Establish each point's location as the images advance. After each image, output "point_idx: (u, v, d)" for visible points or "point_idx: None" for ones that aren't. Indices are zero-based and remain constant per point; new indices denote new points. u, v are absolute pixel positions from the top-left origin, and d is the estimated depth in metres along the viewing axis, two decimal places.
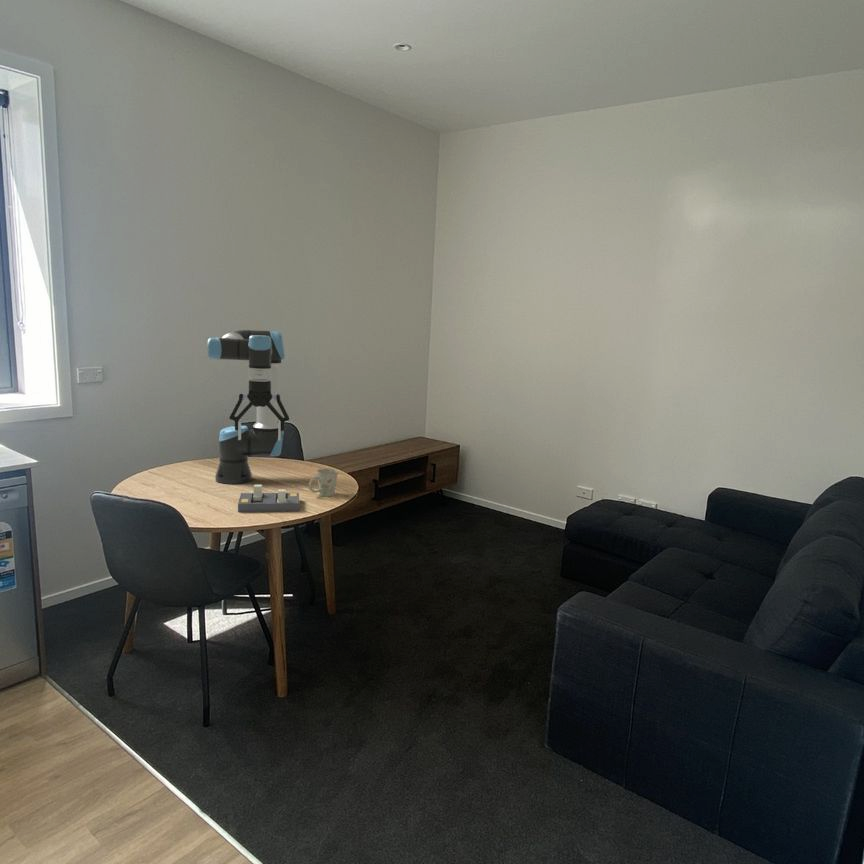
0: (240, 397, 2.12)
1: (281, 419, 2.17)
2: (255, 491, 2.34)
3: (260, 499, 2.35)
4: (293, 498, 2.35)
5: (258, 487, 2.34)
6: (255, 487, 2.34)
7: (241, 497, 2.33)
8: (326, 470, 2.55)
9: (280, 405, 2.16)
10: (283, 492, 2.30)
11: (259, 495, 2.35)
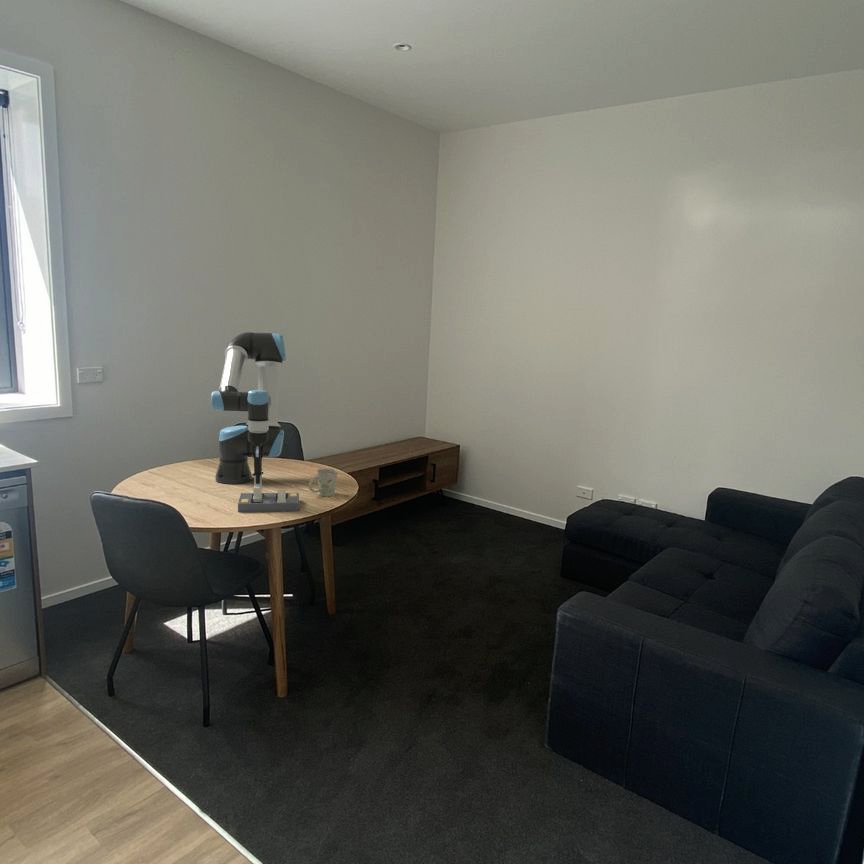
0: None
1: None
2: (255, 492, 2.33)
3: (260, 500, 2.33)
4: (293, 498, 2.35)
5: (258, 488, 2.33)
6: (255, 488, 2.33)
7: (241, 497, 2.33)
8: (326, 470, 2.55)
9: (254, 460, 2.29)
10: (283, 492, 2.30)
11: (259, 496, 2.33)
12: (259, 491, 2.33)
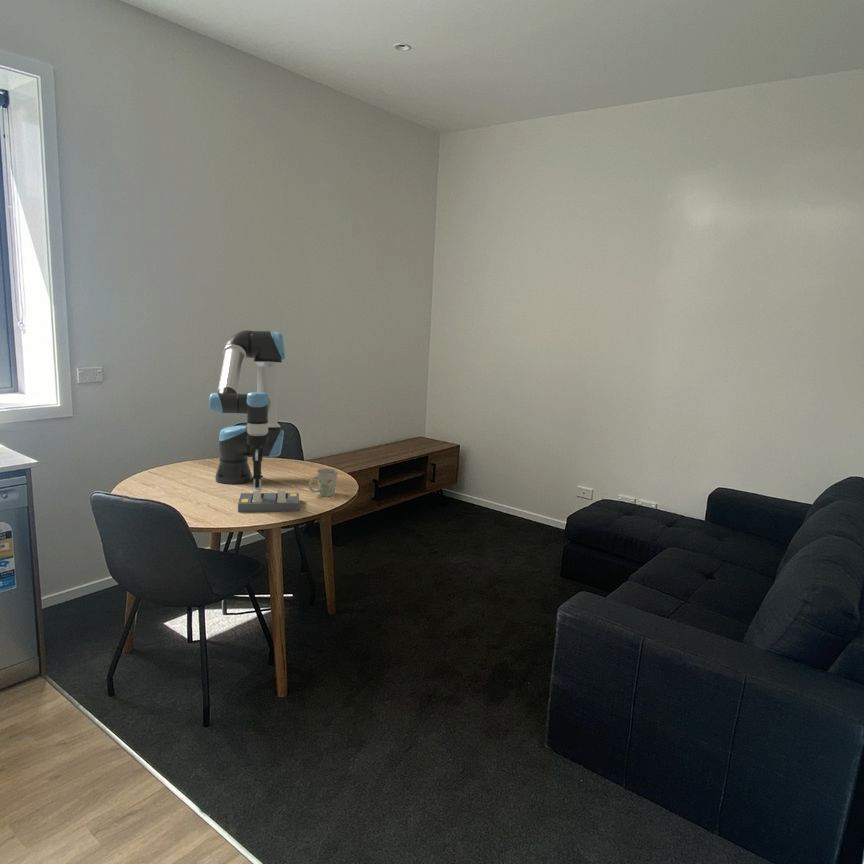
0: None
1: None
2: (254, 495, 2.29)
3: None
4: (293, 498, 2.35)
5: (257, 491, 2.29)
6: (254, 491, 2.28)
7: (241, 497, 2.33)
8: (326, 470, 2.55)
9: (253, 464, 2.25)
10: (283, 492, 2.30)
11: (258, 500, 2.29)
12: (258, 494, 2.29)
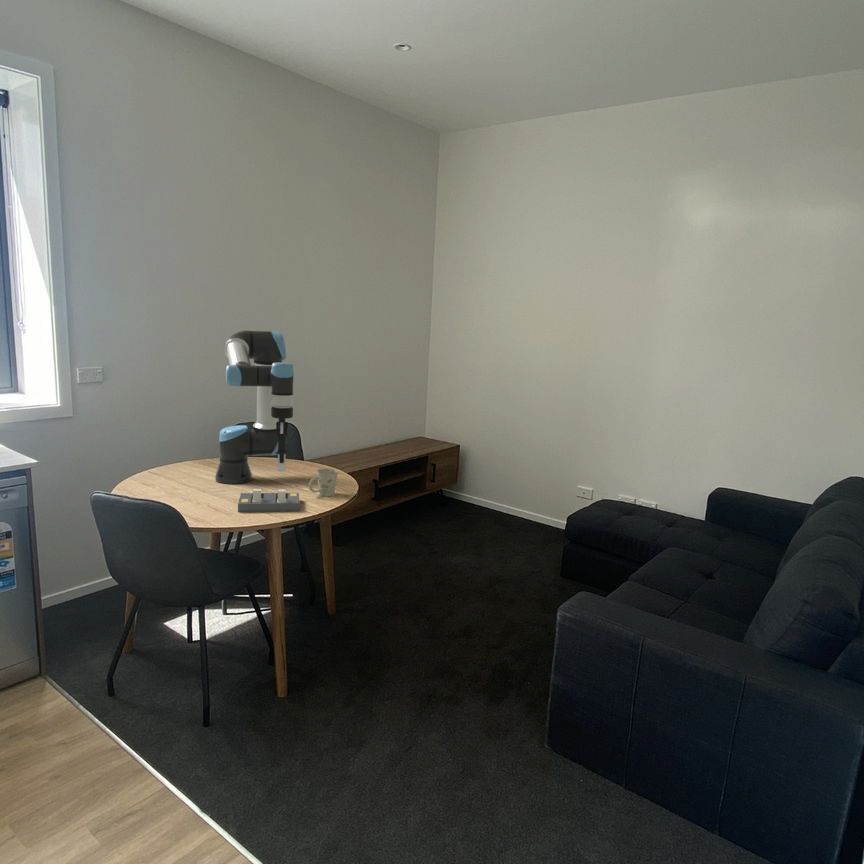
0: None
1: (278, 451, 2.19)
2: (254, 495, 2.29)
3: None
4: (293, 498, 2.35)
5: (257, 491, 2.29)
6: (254, 491, 2.28)
7: (241, 497, 2.33)
8: (326, 470, 2.55)
9: (278, 437, 2.15)
10: (283, 492, 2.30)
11: (258, 500, 2.29)
12: (258, 494, 2.29)
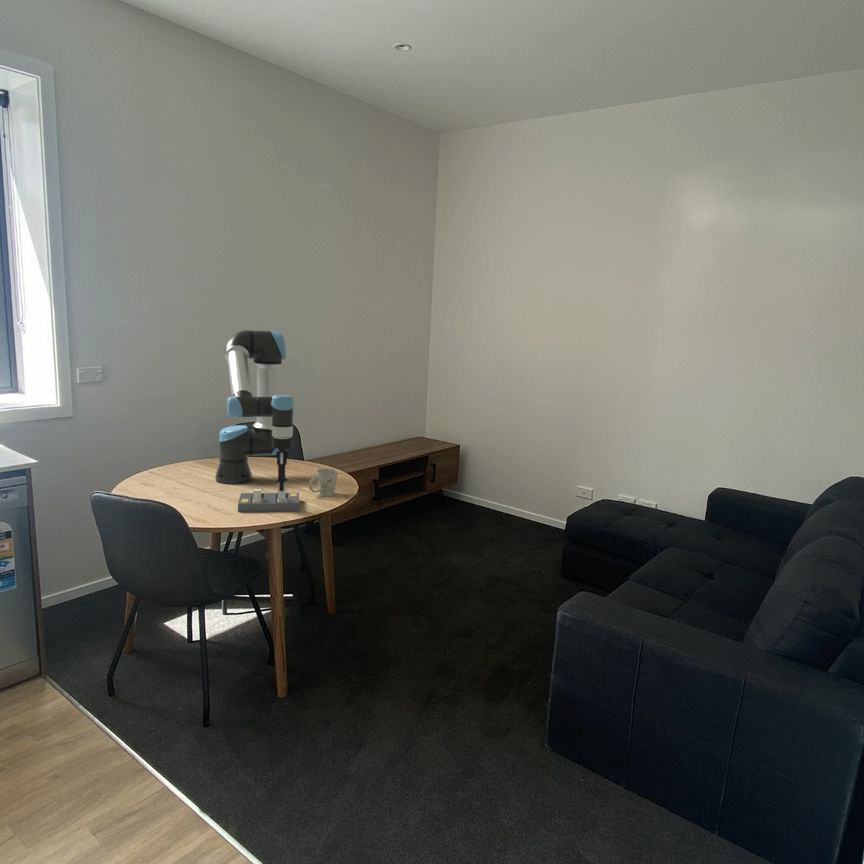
0: None
1: None
2: (254, 495, 2.29)
3: None
4: (293, 498, 2.35)
5: (257, 491, 2.29)
6: (254, 491, 2.28)
7: (241, 497, 2.33)
8: (326, 470, 2.55)
9: (278, 467, 2.23)
10: None
11: (258, 500, 2.29)
12: (258, 494, 2.29)
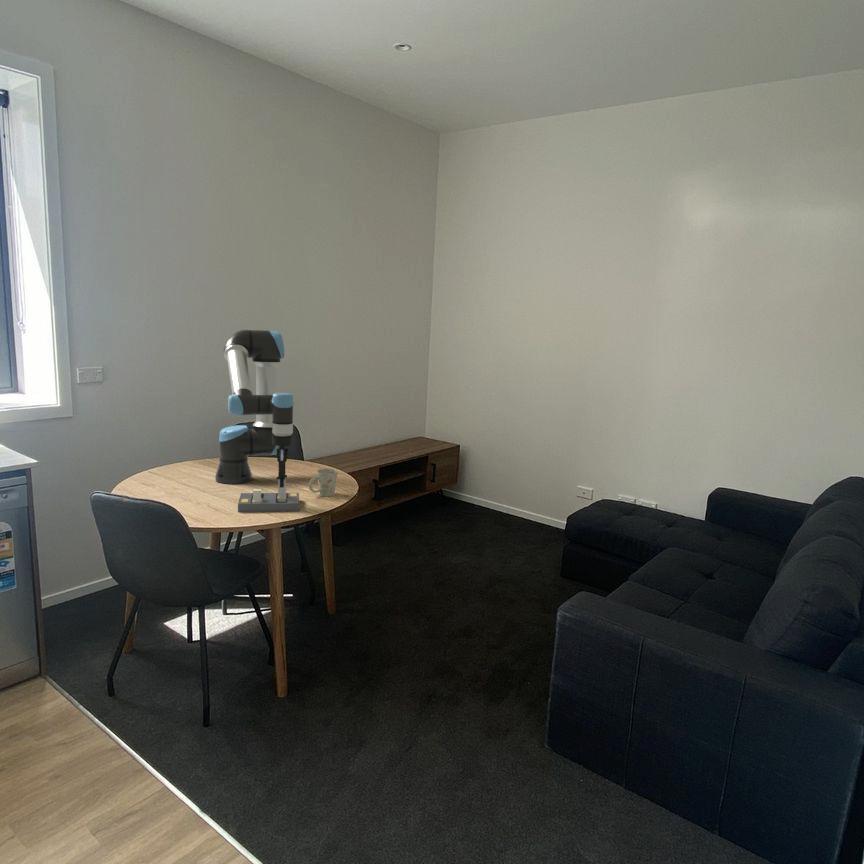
0: None
1: (278, 476, 2.31)
2: (254, 495, 2.29)
3: None
4: (293, 498, 2.35)
5: (257, 491, 2.29)
6: (254, 491, 2.28)
7: (241, 497, 2.33)
8: (326, 470, 2.55)
9: None
10: None
11: (258, 500, 2.29)
12: (258, 494, 2.29)
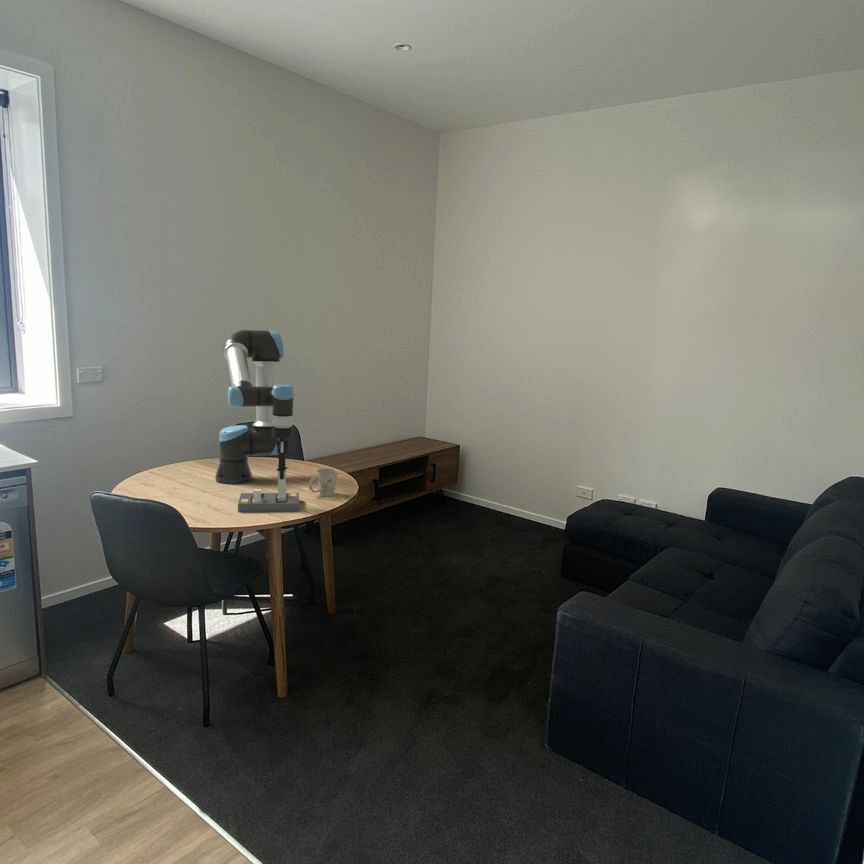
0: None
1: (278, 468, 2.31)
2: (254, 495, 2.29)
3: None
4: (293, 498, 2.35)
5: (257, 491, 2.29)
6: (254, 491, 2.28)
7: (241, 497, 2.33)
8: (326, 470, 2.55)
9: None
10: (283, 488, 2.35)
11: (258, 500, 2.29)
12: (258, 494, 2.29)
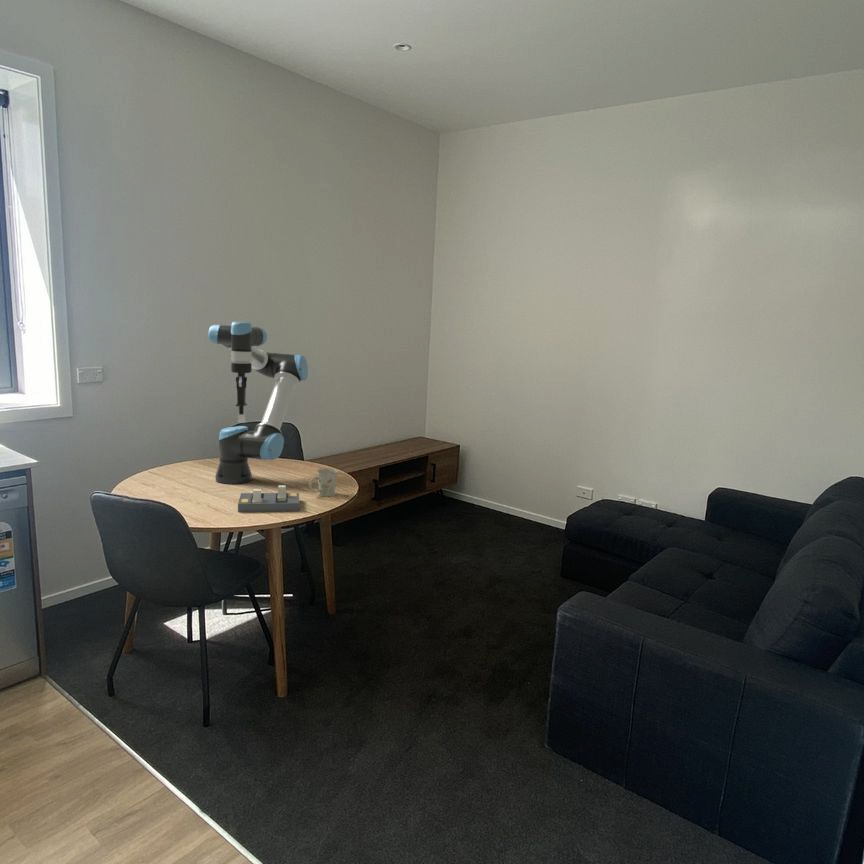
0: None
1: None
2: (254, 495, 2.29)
3: None
4: (293, 498, 2.35)
5: (257, 491, 2.29)
6: (254, 491, 2.28)
7: (241, 497, 2.33)
8: (326, 470, 2.55)
9: (237, 390, 2.35)
10: (283, 488, 2.35)
11: (258, 500, 2.29)
12: (258, 494, 2.29)
